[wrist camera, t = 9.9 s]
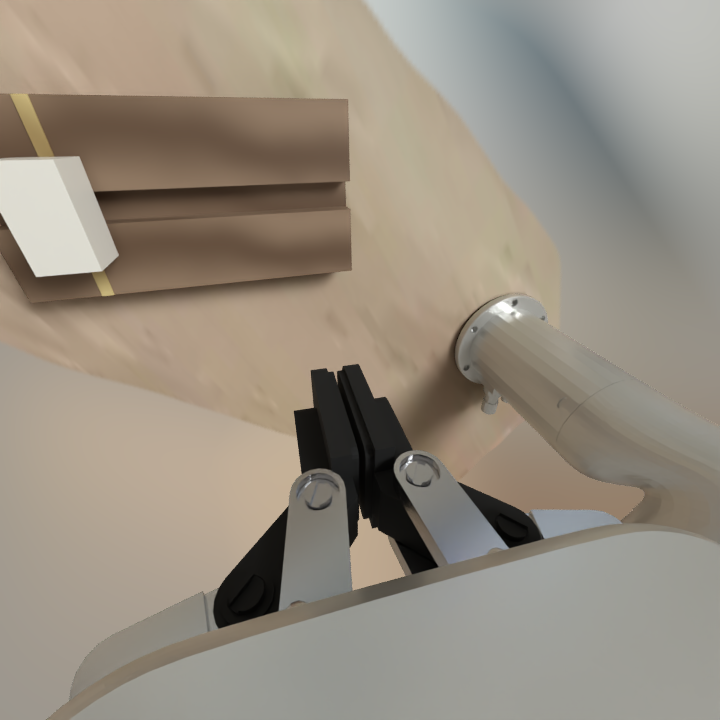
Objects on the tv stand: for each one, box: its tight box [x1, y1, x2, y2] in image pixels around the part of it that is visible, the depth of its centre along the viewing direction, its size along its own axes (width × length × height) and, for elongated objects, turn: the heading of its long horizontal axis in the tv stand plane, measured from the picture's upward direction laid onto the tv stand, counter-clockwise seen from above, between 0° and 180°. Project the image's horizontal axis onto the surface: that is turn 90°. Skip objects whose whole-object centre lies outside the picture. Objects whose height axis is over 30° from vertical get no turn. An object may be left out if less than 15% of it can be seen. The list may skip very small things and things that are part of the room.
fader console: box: [0, 94, 352, 303], centre depth 25 cm, size 12×24×3 cm, turn 90°
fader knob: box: [0, 156, 119, 277], centre depth 21 cm, size 6×4×5 cm, turn 0°
